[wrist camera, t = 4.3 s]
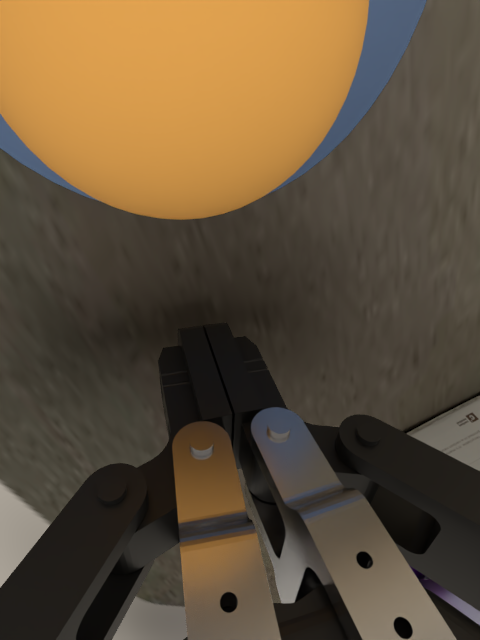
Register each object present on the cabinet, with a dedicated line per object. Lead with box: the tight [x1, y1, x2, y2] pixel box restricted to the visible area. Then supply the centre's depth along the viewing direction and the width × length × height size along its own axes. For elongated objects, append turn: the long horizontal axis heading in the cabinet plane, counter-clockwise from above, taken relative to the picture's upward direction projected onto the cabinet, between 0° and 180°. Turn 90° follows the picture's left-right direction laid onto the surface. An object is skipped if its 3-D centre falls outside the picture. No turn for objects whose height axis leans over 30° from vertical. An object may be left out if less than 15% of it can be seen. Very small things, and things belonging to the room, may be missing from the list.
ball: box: [0, 0, 369, 220], centre depth 6 cm, size 6×6×6 cm
